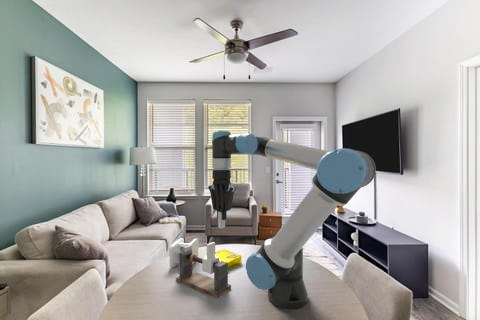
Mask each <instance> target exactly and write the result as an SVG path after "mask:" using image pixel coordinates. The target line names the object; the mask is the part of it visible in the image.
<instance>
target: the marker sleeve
mask: <svg viewBox="0 0 480 320" xmlns="http://www.w3.org/2000/svg"><path fill="white" fill-rule="evenodd" d="M215 252H216V242H215V241H212V242H210V243H207V244H206V255H207V257H204V256H203V258H202V257H201V258H202V264H201V265H202V267H201V271H202V272H205V273H207V274H210V275H212V274H214V268H213V263H219V262H220V257H217V256H215Z"/></svg>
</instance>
